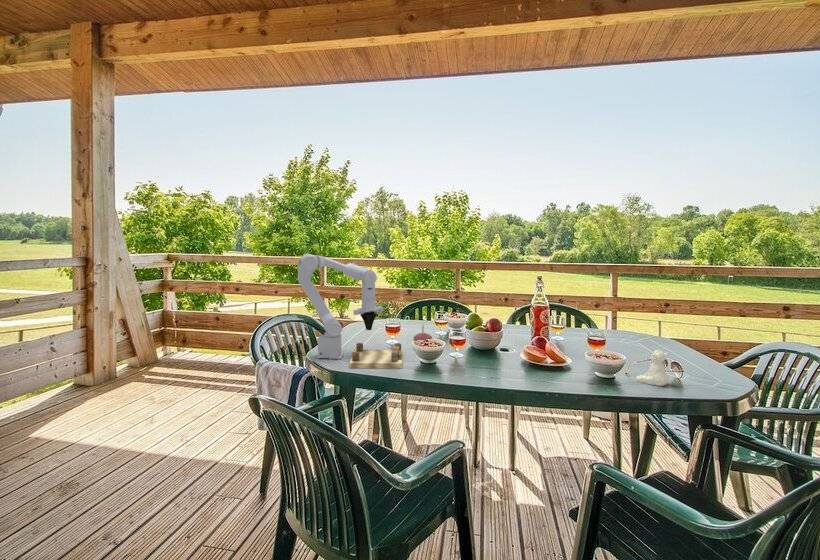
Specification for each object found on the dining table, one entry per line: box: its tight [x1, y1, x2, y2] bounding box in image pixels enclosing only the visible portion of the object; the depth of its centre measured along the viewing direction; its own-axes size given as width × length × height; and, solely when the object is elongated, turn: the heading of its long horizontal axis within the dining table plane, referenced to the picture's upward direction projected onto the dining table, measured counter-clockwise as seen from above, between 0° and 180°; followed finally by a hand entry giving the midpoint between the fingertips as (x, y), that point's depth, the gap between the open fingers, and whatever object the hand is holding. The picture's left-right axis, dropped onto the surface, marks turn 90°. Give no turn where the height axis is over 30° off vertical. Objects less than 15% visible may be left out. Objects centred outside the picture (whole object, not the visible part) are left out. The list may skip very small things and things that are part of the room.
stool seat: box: [348, 342, 404, 370], centre depth 173 cm, size 20×20×5 cm
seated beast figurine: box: [635, 349, 669, 387], centre depth 149 cm, size 10×9×12 cm
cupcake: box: [412, 324, 433, 342], centre depth 193 cm, size 9×8×12 cm
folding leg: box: [391, 345, 399, 361], centre depth 171 cm, size 12×2×3 cm, turn 178°
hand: (368, 329), depth 183 cm, fingers closed
